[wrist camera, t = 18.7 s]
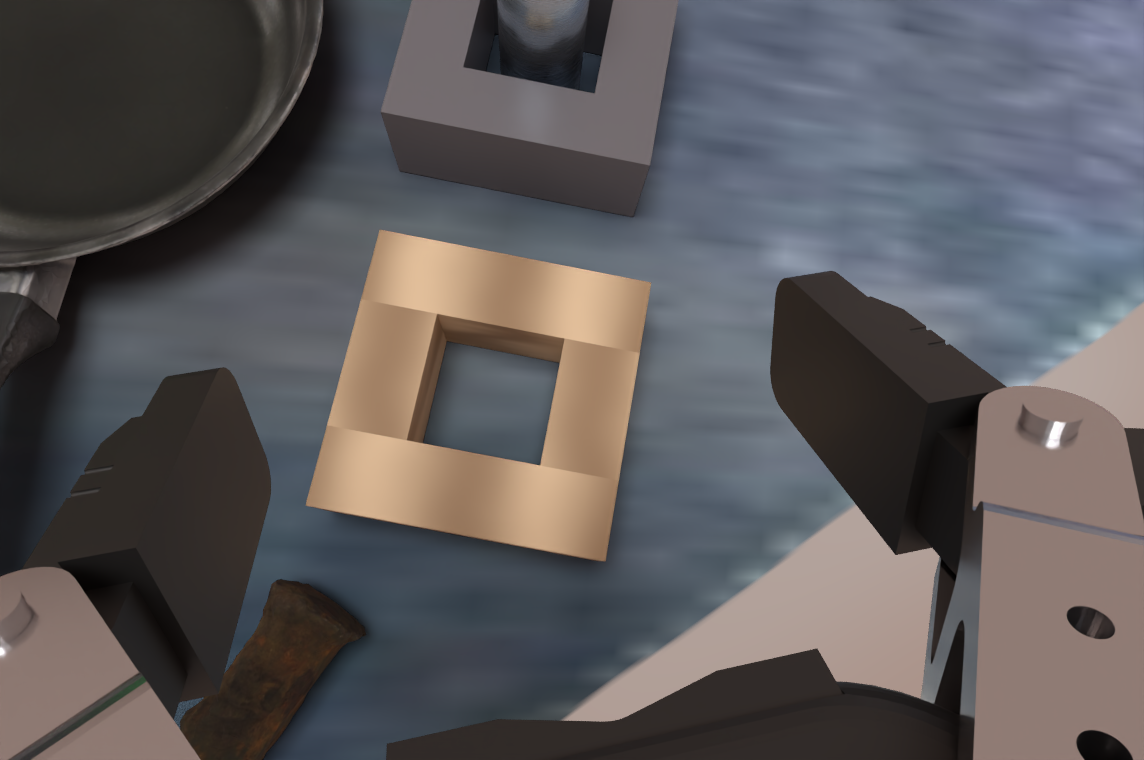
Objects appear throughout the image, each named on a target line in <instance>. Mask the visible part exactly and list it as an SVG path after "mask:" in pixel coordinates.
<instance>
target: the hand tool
mask: <svg viewBox="0 0 1144 760" xmlns="http://www.w3.org/2000/svg"><path fill="white" fill-rule="evenodd" d="M365 635H366V632H365V628H364V627H363V626H362V625H361V624H360V623H359V622H358V621H357V620H356V619H355V618H354V617H353V616H351V615H350V614H349V613H348V612H346V611H345V610H344V609H343V608H342V607H340V606H339V605H338V604H337V603H335V602H334V601H333V600H331V599H330V598H328V597H327V596H325V595H323V594H322V593H321V592H318V591H316V590H315V589H314V588H312V587H311V586H310V585H309V584H302V583H300V582H295V581H287V580H282V579H280V580H277V581H276V582H274V583H273V584H272V586H271V589H270V592H269V596H268V600H267V603H266V605H265V607H264V609H263V617H262V618H261V620H260V623H259V625H258V627H257V630H256V631H255V633H254V634H253V635H252V637H251V638H250V639H249V640H248V642H247V643H246V644H245V646H244V648H243V649H242V650H241V651H240V653H239V654H238V655H237V656H236V658H235V660H234V662H233V663H232V665H231V666H230V667H229V669H228V670H227V671H226V672H225V674H224V675H223V679H222V683H221V687H220V691H219V694H216V695H211V696H206V697H204V699H203V700H202V701H201V702H199V703H198V704H197V705H195V706H194V707H192V708H191V709H189V710H187V711H186V713H185V715H184V716H183V718H182V719H181V721H180V730H181V732H182V733H183V735H184V736H185V738H186V739H187V741H188V742H189V744H190V745H191V746H192V748H193V749H194V751H195V752H196V754H197V755H198V757H199V758H200V760H262V759H263V758H264V756H265V754H266V752H267V751H268V750H269V749H270V748H271V747H272V746H273V745H274V743H275V742H276V741H277V740H278V738H279V737H280V735H281V734H282V733H283V731H284V730H285V728H286V727H287V726H288V724H289V723H290V721H291V719H292V717H293V715H294V714H295V713H296V711H297V710H298V709H299V707H300V706H301V704H302V703H303V701H304V699H305V696H306V694H307V693H308V691H309V690H310V689H311V687H312V686H313V685H314V683H315V682H316V681H317V679H318V678H319V676H320V675H321V673H322V672H323V671H324V669H325V668H326V667H327V666H328V664H329V663H330V662H331V660H332V659H333V658H334V656H335V655H336V654H337V652H338V651H339V650H340V649H341V648H342V647H343V646H344V645H345V644H347V643H348V642H353V641H355V640H357V639H360V638H361V637H362V636H365Z"/></svg>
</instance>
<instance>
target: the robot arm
mask: <svg viewBox="0 0 1144 760" xmlns="http://www.w3.org/2000/svg"><path fill="white" fill-rule="evenodd" d="M770 374H771V383H772V388H773V392H774V395H775V398H776V400H777V402H778V404H779V406H780V408H781V409H782V410H783V412H784V413H785V414H786V415H787V417H788V418H789V419H790V421H791V422H792V423H793V424H794V426H795V427H796V428H797V430H798V431H799V432H800V433H801V435H802V436H803V437H804V438H805V440H806V441H807V442H808V444H809V445H810V446H811V447H812V449H813V450H814V451H815V453H816V454H817V455H818V456H819V458H820V459H821V460H822V461H823V463H824V464H825V465H826V467H827V468H828V469H829V470H830V472H831V473H832V474H833V476H834V477H835V478H836V479H837V481H838V482H839V483H840V484H841V486H842V487H843V488H844V490H845V491H846V492H847V493H848V495H849V496H850V497H851V499H852V500H853V501H854V502H855V504H856V505H857V506H858V507H859V509H860V510H861V511H862V513H863V514H864V515H865V516H866V518H867V519H868V520H869V522H870V523H871V524H872V525H873V527H874V528H875V529H876V530H877V532H878V533H879V534H880V536H881V537H882V538H883V539H884V541H885V542H886V543H887V545H888V546H889V547H890V548H891V550H892V551H893V552H894V553H895V555H898V554H903V553H908V552H913V551H917V550H922V549H927V548H933V549H934V550H935V551H936V552H937V553H938V555H939V556H940V558H939V562H938V566H937V569H936V573H935V577H934V587H933V597H932V605H931V614H930V623H929V632H928V642H927V650H926V660H925V669H924V678H923V686H922V693H921V699H919V698H917V697H914V696H911V695H908V694H905V693H902V692H898V691H894V690H890V689H886V688H881V687H878V686H873V685H865V684H858V683H851V682H836V681H835V679H834V677H833V675H832V674H831V672H830V670H829V668H828V667H827V665H826V663H825V661H824V660H823V658H822V656H821V654H820V653H819V651H818V649H813V650H809V651H804V652H800V653H796V654H791V655H787V656H782V657H777V658H773V659H768V660H764V661H759V662H754V663H750V664H745V665H741V666H736V667H732V668H727V669H723V670H718V671H716V672H714V673H712V674H710V675H708V676H706V677H704V678H702V679H700V680H698V681H696V682H694V683H692V684H690V685H688V686H686V687H684V688H682V689H680V690H679V691H676V692H674V693H672V694H671V695H668V696H667V697H665V698H663V699H661V700H659V701H657V702H655V703H653V704H651V705H649V706H647V707H645V708H643V709H641V710H639V711H637V712H635V713H633V714H631V715H629V716H627V717H625V718H622V719H620V720H615V721H608V722H591V721H549V720H506V719H497V720H493V721H488V722H484V723H479V724H475V725H470V726H466V727H461V728H457V729H452V730H448V731H443V732H439V733H434V734H430V735H425V736H421V737H416V738H412V739H407V740H403V741H398V742H394V743H389V744H387V756H386V760H1144V429H1136V428H1134V429H1133V428H1123V426H1122V424H1121V423H1120V422H1119V420H1118V419H1117V418H1116V417H1115V416H1114V415H1112V414H1111V413H1110V412H1109V411H1107V410H1106V409H1105V408H1103V407H1101V406H1099V405H1098V404H1095V403H1094V402H1092V401H1090V400H1088V399H1085V398H1083V397H1080V396H1078V395H1075V394H1072V393H1068V392H1065V391H1061V390H1056V389H1051V388H1046V387H1037V386H1013V387H1006V386H1005V385H1003V384H1002V383H1001V382H999V381H998V380H997V379H995V378H994V377H993V376H991V375H990V374H989V373H987V372H986V371H985V370H983V369H982V368H981V367H979V366H978V365H977V364H975V363H974V362H973V361H971V360H970V359H969V358H967V357H966V356H965V355H963V354H962V353H961V352H959V351H958V350H957V349H955V348H954V347H953V346H951V345H950V344H949V345H946V344H945V340H943V339H942V338H941V337H940V336H938V335H937V334H936V333H934V332H933V331H932V330H926V326H925V325H924V324H922V323H921V322H920V321H918V320H917V319H916V318H914V317H913V316H912V315H910V314H909V313H908V312H906V311H905V310H904V309H901V308H899V307H896V306H894V305H891V304H889V303H886V302H883V301H881V300H878V299H876V298H873V297H867V296H866V295H864V294H863V293H862V292H861V291H859V290H858V289H857V288H856V287H854V286H853V285H852V284H850V283H849V282H848V281H847V280H845V279H844V278H843V277H842V276H840V275H839V274H838V273H836V272H834V271H827V272H821V273H815V274H809V275H802V276H796V277H790V278H784V279H782V280H781V281H780V283H779V285H778V287H777V291H776V297H775V311H774V324H773V338H772V352H771V366H770ZM84 471H85V475H81V476H80V478H79V479H78V481H77V482H76V484H75V486H74V487H73V489H72V490H71V492H70V493H71V497H70V498H66V500H65V501H64V503H63V505H62V506H61V508H60V509H59V511H58V513H57V514H56V516H55V517H54V519H53V520H52V522H51V524H50V525H49V527H48V528H47V530H46V532H45V533H44V535H43V536H42V538H41V540H40V541H39V543H38V544H37V546H36V547H35V549H34V551H33V552H32V554H31V555H30V557H29V559H28V560H27V562H26V563H25V565H24V567H23V568H22V570H19V571H16V572H12V573H9V574H6V575H3V576H1V577H0V760H200V758H199V757H198V755H197V754H196V752H195V751H194V749H193V748H192V746H191V745H190V744H189V742H188V741H187V739H186V738H185V736H184V735H183V733H182V732H181V730H180V729H179V727H178V726H177V725H176V723H175V722H174V717H175V713H176V710H177V707H178V704H179V702H182V701H187V700H192V699H197V698H201V697H206V696H211V695H216V694H219V691H220V687H221V683H222V679H223V675H224V672H225V668H226V664H227V660H228V656H229V653H230V649H231V645H232V641H233V637H234V634H235V630H236V626H237V622H238V618H239V615H240V611H241V607H242V603H243V599H244V596H245V592H246V588H247V584H248V581H249V577H250V573H251V569H252V565H253V562H254V558H255V554H256V550H257V546H258V543H259V539H260V535H261V531H262V527H263V524H264V520H265V516H266V512H267V508H268V505H269V501H270V495H271V478H270V471H269V466H268V462H267V458H266V455H265V452H264V450H263V447H262V445H261V442H260V440H259V437H258V435H257V432H256V430H255V427H254V425H253V422H252V420H251V417H250V415H249V412H248V409H247V407H246V404H245V402H244V399H243V397H242V394H241V392H240V389H239V387H238V384H237V382H236V380H235V378H234V376H233V375H232V373H231V372H230V371H229V370H228V369H226V368H217V369H210V370H204V371H198V372H192V373H186V374H179V375H173V376H168V377H166V378H164V380H163V381H162V383H161V384H160V386H159V388H158V390H157V391H156V393H155V395H154V396H153V398H152V400H151V402H150V403H149V405H148V407H147V409H146V410H145V412H144V414H143V415H142V416H141V417H135V418H131V419H130V420H129V421H127V422H126V423H125V424H124V425H123V426H121V427H120V428H119V429H118V430H117V431H115V432H114V433H113V434H112V435H111V436H109V437H108V438H107V439H106V440H104V441H103V442H102V443H101V444H100V446H99V447H98V449H97V451H96V452H95V454H94V455H93V457H92V459H91V460H90V462H89V463H88V465H87V466H86V468H85V470H84Z"/></svg>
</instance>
